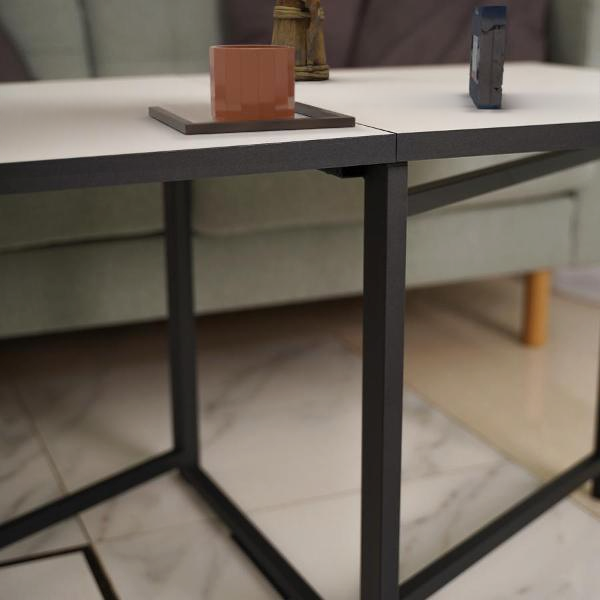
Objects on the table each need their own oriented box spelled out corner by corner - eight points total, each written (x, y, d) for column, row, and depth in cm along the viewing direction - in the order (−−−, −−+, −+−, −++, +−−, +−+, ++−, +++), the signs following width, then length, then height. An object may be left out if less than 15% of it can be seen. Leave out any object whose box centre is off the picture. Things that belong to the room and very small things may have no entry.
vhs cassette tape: (467, 92, 110) (472, 5, 107) (492, 93, 109) (498, 5, 106) (471, 108, 92) (477, 5, 89) (501, 109, 92) (508, 5, 89)
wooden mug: (291, 84, 121) (291, -62, 115) (257, 77, 133) (255, -55, 127) (352, 82, 124) (355, -60, 118) (313, 75, 136) (314, -54, 130)
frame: (185, 134, 73) (185, 124, 73) (148, 115, 86) (148, 106, 86) (355, 126, 78) (355, 117, 78) (296, 109, 91) (296, 101, 91)
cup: (225, 128, 77) (223, 48, 75) (202, 119, 83) (200, 45, 81) (307, 124, 79) (307, 47, 77) (278, 115, 86) (278, 44, 84)
